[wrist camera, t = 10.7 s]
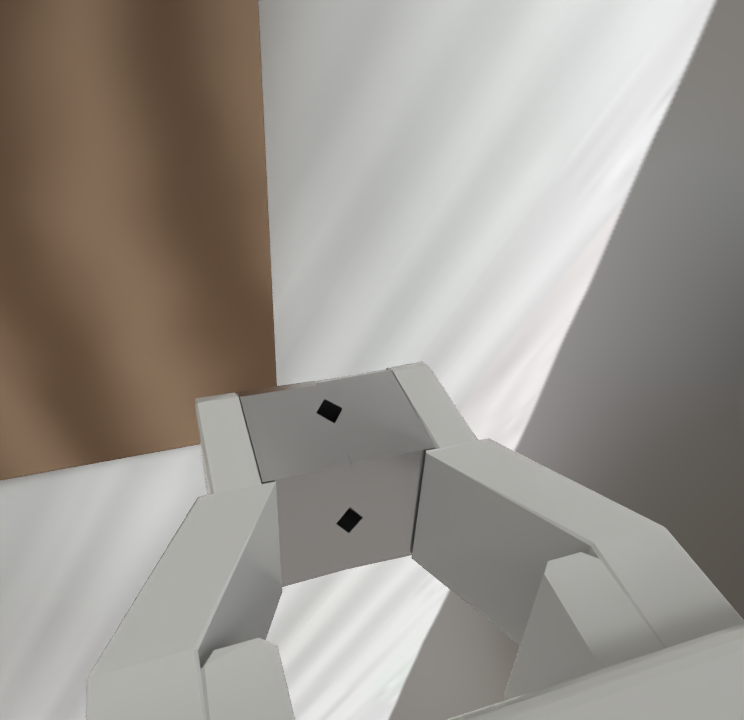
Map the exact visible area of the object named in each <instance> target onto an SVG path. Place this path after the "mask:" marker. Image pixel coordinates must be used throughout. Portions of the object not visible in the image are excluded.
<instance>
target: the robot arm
mask: <svg viewBox="0 0 744 720" xmlns="http://www.w3.org/2000/svg"><path fill="white" fill-rule="evenodd" d="M195 410H196V417H197V424H198V431H199V438H200V445H201V452H202V459H203V466H204V473H205V480H206V487H207V495H206V496H201V497H198V498H197V500H196V501H195V503H194V504H193V506H192V508H191V509H190V511H189V513H188V514H187V516H186V518H185V519H184V521H183V522H182V524H181V526H180V527H179V529H178V531H177V532H176V534H175V536H174V537H173V539H172V540H171V542H170V544H169V545H168V547H167V549H166V550H165V552H164V553H163V555H162V557H161V558H160V560H159V562H158V563H157V565H156V567H155V568H154V570H153V571H152V573H151V575H150V576H149V578H148V580H147V581H146V583H145V585H144V586H143V588H142V589H141V591H140V593H139V594H138V596H137V598H136V599H135V601H134V603H133V604H132V606H131V607H130V609H129V611H128V612H127V614H126V616H125V617H124V619H123V620H122V622H121V624H120V625H119V627H118V629H117V630H116V632H115V634H114V635H113V637H112V638H111V640H110V642H109V643H108V645H107V647H106V648H105V650H104V652H103V653H102V655H101V656H100V658H99V660H98V661H97V663H96V665H95V666H94V668H93V669H92V671H91V673H90V674H89V676H88V678H87V688H86V720H295V717H294V712H293V708H292V704H291V700H290V696H289V692H288V687H287V683H286V679H285V675H284V671H283V667H282V663H281V658H280V654H279V650H278V646H276V645H274V644H272V643H270V642H268V641H265V640H266V637H267V634H268V631H269V628H270V625H271V623H272V620H273V617H274V614H275V611H276V608H277V605H278V602H279V599H280V596H281V594H282V587H284V586H287V585H291V584H295V583H298V582H302V581H305V580H309V579H313V578H316V577H320V576H324V575H327V574H331V573H335V572H338V571H342V570H345V569H350V568H354V567H359V566H363V565H368V564H373V563H377V562H382V561H386V560H391V559H396V558H400V557H405V556H409V555H412V559H413V560H415V561H416V562H417V563H418V564H419V565H421V566H422V567H423V568H424V569H426V570H427V571H428V572H429V573H431V574H432V575H433V576H434V577H436V578H437V579H438V580H439V581H440V582H442V583H443V584H444V585H445V586H447V587H448V588H449V589H450V590H452V591H453V592H454V593H455V594H457V595H458V596H459V597H460V598H461V599H463V600H464V601H465V602H466V603H468V604H469V605H470V606H472V607H473V608H474V609H475V610H476V611H478V612H479V613H480V614H481V615H482V616H484V617H485V618H486V619H488V620H489V621H490V622H491V623H492V624H494V625H495V626H496V627H497V628H499V629H500V630H501V631H502V632H503V633H505V634H506V635H507V636H508V637H510V638H511V639H512V640H514V641H515V642H516V643H517V644H518V645H520V648H519V651H518V654H517V657H516V660H515V663H514V666H513V669H512V672H511V675H510V678H509V681H508V684H507V687H506V690H505V693H504V698H505V701H502V702H499V703H496V704H493V705H490V706H487V707H484V708H481V709H478V710H475V711H472V712H468V713H465V714H462V715H459V716H457V717H453V718H450V719H447V720H744V620H743V619H742V618H741V617H740V615H739V614H738V613H737V612H736V611H735V610H734V608H733V607H732V606H731V605H730V604H729V602H728V601H727V600H726V599H725V598H724V596H723V595H722V594H721V593H720V592H719V591H718V589H717V588H716V587H715V586H714V585H713V583H712V582H711V581H710V580H709V579H708V578H707V577H706V575H705V574H704V573H703V572H702V570H701V569H700V568H699V567H698V566H697V565H696V563H695V562H694V561H693V560H692V559H691V557H690V556H689V555H688V554H687V553H686V551H685V550H684V549H683V548H682V547H681V546H680V545H679V543H678V542H677V541H676V540H675V538H674V537H673V536H672V535H671V534H670V533H669V531H668V530H667V529H666V528H665V527H663V526H661V525H659V524H657V523H655V522H653V521H651V520H649V519H647V518H645V517H643V516H641V515H639V514H637V513H635V512H633V511H631V510H630V509H627V508H626V507H624V506H622V505H620V504H618V503H615V502H614V501H611V500H610V499H608V498H606V497H604V496H602V495H600V494H598V493H596V492H594V491H592V490H590V489H588V488H586V487H584V486H582V485H580V484H578V483H576V482H574V481H572V480H570V479H568V478H566V477H564V476H562V475H560V474H558V473H556V472H554V471H552V470H550V469H548V468H546V467H544V466H542V465H540V464H538V463H536V462H534V461H533V460H531V459H529V458H527V457H525V456H522V455H521V454H519V453H517V452H515V451H513V450H511V449H509V448H507V447H505V446H503V445H501V444H499V443H497V442H495V441H493V440H491V439H484V440H479V441H478V439H477V438H476V436H475V435H474V433H473V432H472V430H471V429H470V427H469V426H468V424H467V423H466V421H465V419H464V418H463V416H462V415H461V413H460V412H459V410H458V409H457V407H456V406H455V404H454V403H453V401H452V400H451V398H450V397H449V395H448V394H447V392H446V391H445V389H444V388H443V386H442V385H441V383H440V382H439V380H438V379H437V377H436V376H435V374H434V373H433V371H432V370H431V368H430V367H429V365H427V364H425V363H424V362H417V363H412V364H407V365H401V366H396V367H391V368H387V369H386V370H379V371H373V372H367V373H362V374H356V375H350V376H344V377H338V378H332V379H326V380H320V381H311V382H304V383H297V384H290V385H282V386H275V387H268V388H261V389H254V390H246V391H239V392H237V394H236V393H228V394H222V395H215V396H208V397H201V398H195Z"/></svg>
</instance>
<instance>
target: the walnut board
mask: <svg viewBox="0 0 744 720" xmlns="http://www.w3.org/2000/svg"><path fill="white" fill-rule="evenodd" d="M275 386H277V382H276V362H275V341H274V321H273V300H272V279H271V259H270V238H269V217H268V197H267V176H266V156H265V135H264V114H263V94H262V73H261V52H260V32H259V11H258V0H0V480H5V479H11V478H16V477H22V476H27V475H33V474H38V473H44V472H49V471H55V470H60V469H66V468H71V467H77V466H82V465H88V464H93V463H99V462H104V461H110V460H115V459H121V458H126V457H132V456H137V455H143V454H148V453H154V452H159V451H165V450H170V449H176V448H181V447H187V446H192V445H198V444H200V438H199V431H198V424H197V417H196V410H195V398H201V397H208V396H215V395H222V394H228V393H236V394H237V392H239V391H246V390H254V389H261V388H268V387H275Z"/></svg>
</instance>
